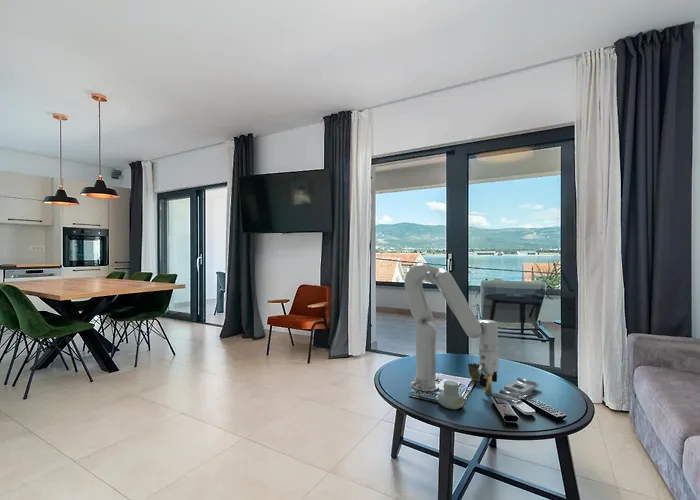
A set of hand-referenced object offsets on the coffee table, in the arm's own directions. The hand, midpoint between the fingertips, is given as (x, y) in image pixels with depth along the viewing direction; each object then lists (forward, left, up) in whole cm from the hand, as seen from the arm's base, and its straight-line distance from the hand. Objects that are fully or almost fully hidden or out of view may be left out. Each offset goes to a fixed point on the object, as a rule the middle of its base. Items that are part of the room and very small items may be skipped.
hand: (488, 383), depth 163 cm
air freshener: (-26, +3, -5) cm, 27 cm away
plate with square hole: (+11, -9, -4) cm, 15 cm away
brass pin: (0, 0, -4) cm, 4 cm away
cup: (+10, +12, -4) cm, 16 cm away
